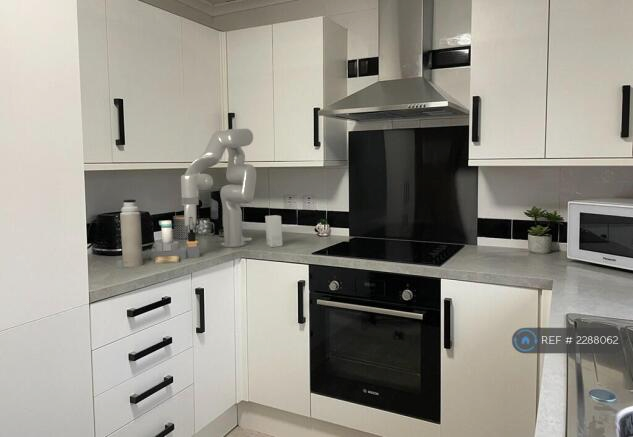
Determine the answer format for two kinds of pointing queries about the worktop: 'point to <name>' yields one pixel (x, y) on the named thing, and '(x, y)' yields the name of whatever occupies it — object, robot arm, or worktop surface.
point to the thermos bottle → (131, 234)
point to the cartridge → (166, 231)
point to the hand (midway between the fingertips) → (191, 241)
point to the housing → (174, 250)
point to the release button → (192, 243)
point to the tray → (167, 259)
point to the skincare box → (273, 231)
